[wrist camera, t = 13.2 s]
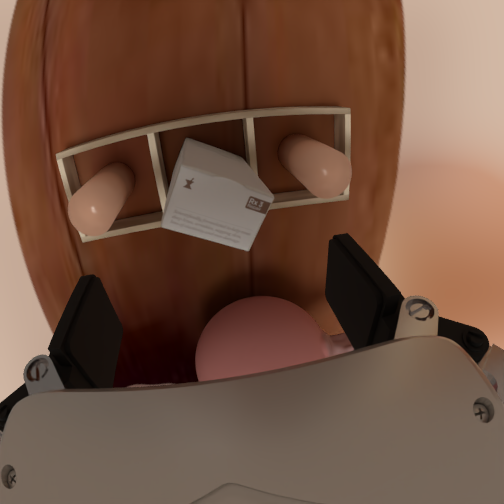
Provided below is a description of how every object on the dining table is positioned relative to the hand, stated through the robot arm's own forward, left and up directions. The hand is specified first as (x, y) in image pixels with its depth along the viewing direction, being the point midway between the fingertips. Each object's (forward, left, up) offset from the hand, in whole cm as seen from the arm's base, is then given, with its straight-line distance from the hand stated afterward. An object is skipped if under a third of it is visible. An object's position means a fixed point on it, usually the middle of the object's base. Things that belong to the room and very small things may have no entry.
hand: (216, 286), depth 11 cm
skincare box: (0, 0, -19) cm, 19 cm away
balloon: (-21, -5, -19) cm, 28 cm away
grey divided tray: (0, 0, -19) cm, 19 cm away
